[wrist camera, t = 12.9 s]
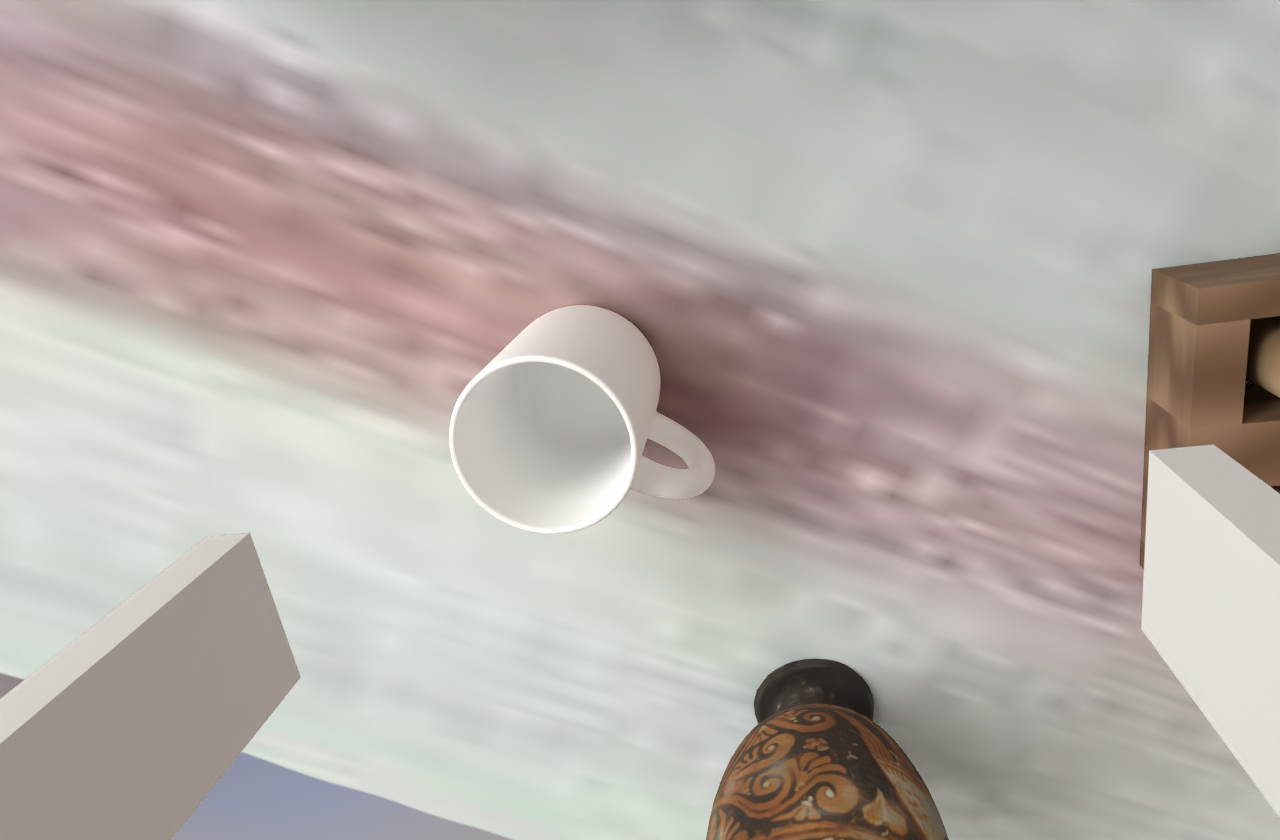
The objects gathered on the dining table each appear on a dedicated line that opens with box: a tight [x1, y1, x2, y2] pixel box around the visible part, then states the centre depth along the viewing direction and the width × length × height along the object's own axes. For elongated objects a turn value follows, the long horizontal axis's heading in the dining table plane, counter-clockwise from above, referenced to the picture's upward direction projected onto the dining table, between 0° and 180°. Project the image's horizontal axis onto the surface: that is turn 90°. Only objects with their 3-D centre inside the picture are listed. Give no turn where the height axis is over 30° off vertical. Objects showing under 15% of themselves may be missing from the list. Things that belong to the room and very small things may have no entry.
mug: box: [449, 305, 715, 534], centre depth 41 cm, size 12×8×10 cm
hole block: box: [1140, 253, 1280, 569], centre depth 39 cm, size 16×9×4 cm, turn 9°
